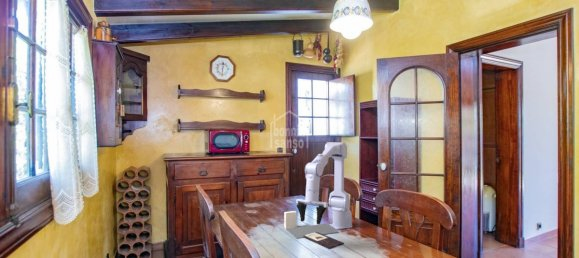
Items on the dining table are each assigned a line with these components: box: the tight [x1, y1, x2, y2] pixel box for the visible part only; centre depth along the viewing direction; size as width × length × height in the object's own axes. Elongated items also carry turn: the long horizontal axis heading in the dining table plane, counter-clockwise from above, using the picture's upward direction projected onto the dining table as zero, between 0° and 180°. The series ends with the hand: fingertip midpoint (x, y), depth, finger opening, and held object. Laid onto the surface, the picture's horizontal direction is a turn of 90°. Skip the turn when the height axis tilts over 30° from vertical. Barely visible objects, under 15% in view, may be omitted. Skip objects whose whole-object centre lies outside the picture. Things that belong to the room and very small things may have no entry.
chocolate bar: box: [303, 232, 345, 250], centre depth 137 cm, size 9×1×18 cm
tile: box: [283, 210, 298, 230], centre depth 155 cm, size 6×2×8 cm, turn 110°
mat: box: [286, 223, 339, 240], centre depth 150 cm, size 22×14×1 cm, turn 110°
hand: (310, 222), depth 130 cm, fingers open, 7 cm apart
